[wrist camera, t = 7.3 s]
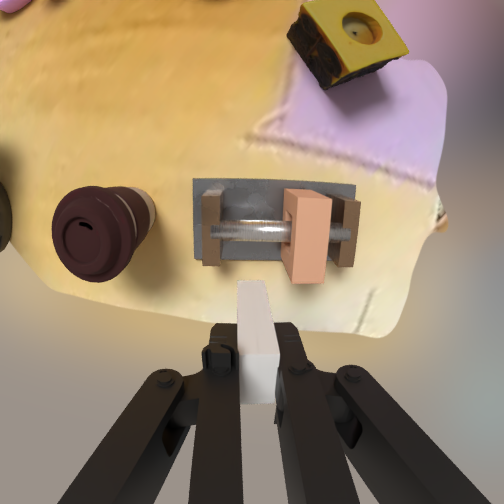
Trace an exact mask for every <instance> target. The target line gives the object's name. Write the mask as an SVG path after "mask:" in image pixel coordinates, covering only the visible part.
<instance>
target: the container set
mask: <svg viewBox="0 0 504 504" xmlns="http://www.w3.org/2000/svg"><path fill="white" fill-rule="evenodd" d="M30 1H32V0H0V10H2V11H4V12H7V13H13V12H16V11H18V10H20V9H21V8H23V7H24V6H25V5H27V4H28V3H29V2H30Z"/></svg>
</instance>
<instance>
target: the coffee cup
mask: <svg viewBox="0 0 504 504" xmlns="http://www.w3.org/2000/svg"><path fill="white" fill-rule="evenodd" d="M154 220H155V207H154V204H153V201H152V199H151V198H150V196H149V195H148V194H147V193H146V192H144V191H143V190H141V189H139V188H135V187H108V188H102V187H98V186H86V187H82V188H78V189H75V190H73V191H71V192H70V193H68V194H67V195H66V196H65V197H64V198H63V199H62V200H61V201H60V203H59V204H58V206H57V208H56V210H55V213H54V216H53V220H52V239H53V244H54V247H55V250H56V252H57V255H58V256H59V258H60V260H61V262H62V263H63V264H64V266H65V267H66V268H67V269H68V270H69V271H70V272H71V273H73V274H74V275H75V276H77V277H79V278H80V279H82V280H85V281H89V282H97V283H100V282H105V281H108V280H111V279H113V278H114V277H116V276H117V275H118V274H119V273H121V271H122V270H123V269H124V268H125V267H126V266H127V265H128V263H129V262H130V260H131V258H132V255H133V253H134V251H135V250H136V248H137V247H138V246H139V245H140V243H141V242H142V241H143V240H144V238H145V237H146V235H147V233H148V231H149V230H150V229H151V227H152V226H153V223H154Z"/></svg>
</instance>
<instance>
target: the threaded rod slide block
mask: <svg viewBox="0 0 504 504" xmlns="http://www.w3.org/2000/svg"><path fill="white" fill-rule="evenodd" d="M284 188H285V189H306V190H313V191H315V192H317V193H319V194H322V195H324V196H326V197H328V198H331V199H332V208H331V220H330V231H329V242H328V251H327V260H328V261H333V262H334V263H335V264H336V265H337V266H338V267H353V264H354V258H355V250H356V243H357V234H358V226H359V216H360V206H361V202H360V201H357V200H355V192H356V185H353V184H342V183H330V182H315V181H299V180H278V179H246V178H193V231H194V259H202V264H203V266H220V263H221V259H232V260H282V258H281V242H291V231H292V221H283V201H284Z"/></svg>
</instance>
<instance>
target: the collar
mask: <svg viewBox="0 0 504 504" xmlns="http://www.w3.org/2000/svg"><path fill="white" fill-rule="evenodd" d="M331 208H332V199H331V198H328V197H326V196H324V195H322V194H319V193H317V192H315V191H313V190H306V189H285V188H284V201H283V221H292V231H291V242H281V258H282V261H283V263H284V266H285V268H286V271H287V273H288V275H289V278H290V280H291V283H292V284H312V283H324V277H325V269H326V260H327V251H328V242H329V231H330V220H331Z"/></svg>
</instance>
